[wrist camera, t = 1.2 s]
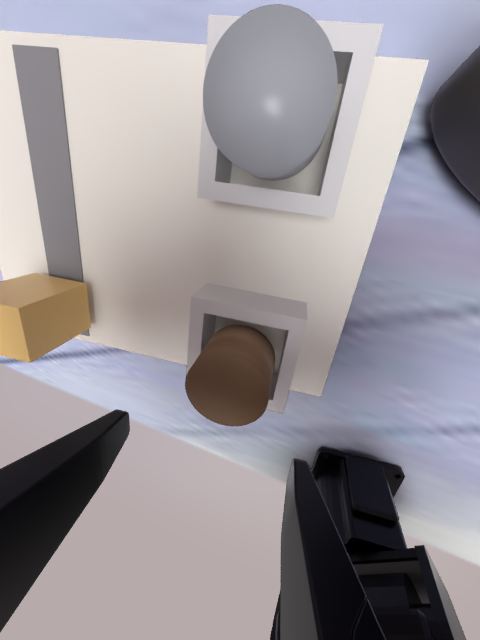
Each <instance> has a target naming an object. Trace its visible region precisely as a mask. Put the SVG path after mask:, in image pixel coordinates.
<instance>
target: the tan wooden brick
mask: <svg viewBox="0 0 480 640" xmlns="http://www.w3.org/2000/svg"><path fill="white" fill-rule="evenodd" d="M89 328H91V322H90V313H89V303H88V294H87V284H86V283H82V282H77V281H72V280H68V279H63V278H58V277H53V276H48V275H43V274H39V273H32V274H28V275H24V276H20V277H16V278H12V279H8V280H4V281H0V355H2V356H6V357H10V358H13V359H17V360H21V361H25V362H29V363H31V362H33V361H34V360H36V359H38V358H40V357H41V356H43V355H45V354H46V353H48V352H50V351H52V350H53V349H55V348H57V347H58V346H60V345H62V344H64V343H65V342H67V341H69V340H70V339H72V338H74V337H76V336H77V335H79V334H81V333H83V332H84V331H86V330H88V329H89Z"/></svg>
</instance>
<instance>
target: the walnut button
mask: <svg viewBox="0 0 480 640" xmlns="http://www.w3.org/2000/svg"><path fill="white" fill-rule="evenodd" d="M274 366H275V352H274V348H273V346H272V344H271V343H270V341H269V340H268V339H267V337H266V336H265V335H263V334H262V333H261V332H260V331H258V330H256V329H254V328H252V327H249V326H246V325H230V326H226V327H223V328H221V329H220V330H218V331H217V332H216V333H215V334H214V335H213V336H212V337H211V339H210V340H209V342H208V343H207V345H206V346H205V348H204V349H203V350H202V352H201V353H200V355H199V356H198V358H197V359H196V361H195V362H194V364H193V365H192V367H191V368H190V369H189V371H188V373H187V376H186V381H185V387H186V392H187V396H188V398H189V400H190V402H191V403H192V405H193V406H194V408H195V409H196V410H197V411H198V412H199V413H200V414H202V415H203V416H204V417H206V418H207V419H209V420H211V421H213V422H216V423H218V424H222V425H226V426H242V425H247V424H249V423H252V422H254V421H255V420H257V419H258V418H259V417H260V416H261V415H262V414H263V413H264V412H265V410H266V408H267V405H268V401H269V395H270V389H271V384H272V378H273V372H274Z"/></svg>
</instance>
